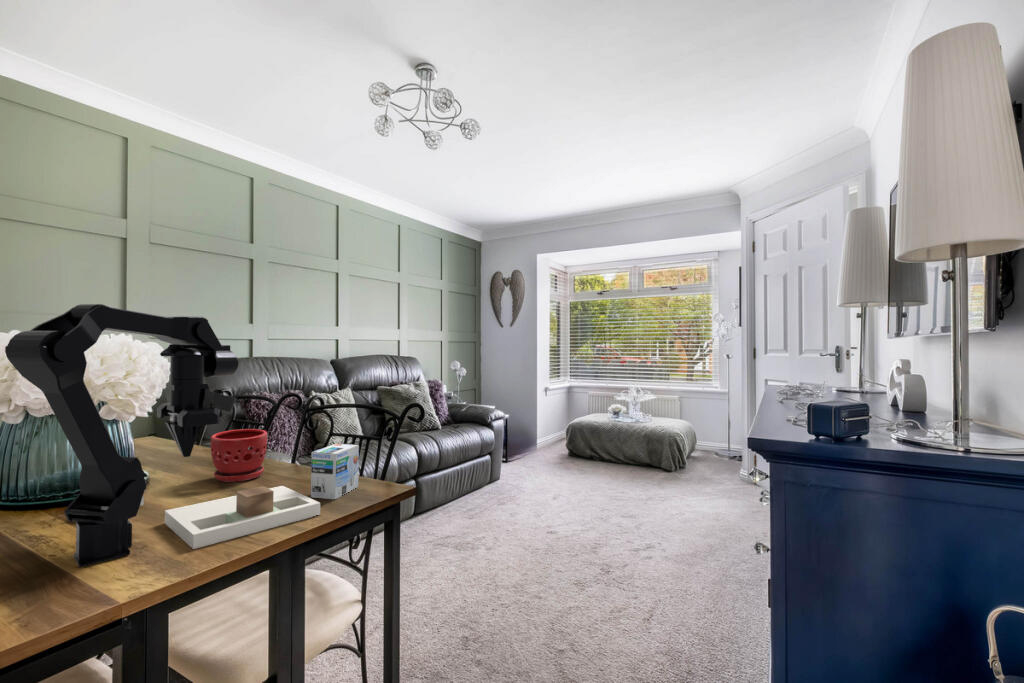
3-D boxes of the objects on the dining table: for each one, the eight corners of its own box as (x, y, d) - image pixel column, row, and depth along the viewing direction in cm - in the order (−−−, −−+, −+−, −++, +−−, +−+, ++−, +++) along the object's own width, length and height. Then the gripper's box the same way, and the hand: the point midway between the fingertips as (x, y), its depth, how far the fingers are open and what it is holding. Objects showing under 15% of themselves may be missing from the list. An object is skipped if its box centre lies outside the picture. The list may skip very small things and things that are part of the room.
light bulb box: (335, 500, 110) (336, 453, 110) (309, 498, 111) (310, 451, 112) (359, 487, 121) (360, 444, 121) (335, 485, 122) (335, 442, 122)
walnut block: (246, 517, 91) (246, 496, 92) (236, 511, 95) (236, 491, 95) (273, 511, 95) (273, 491, 95) (262, 505, 99) (263, 486, 99)
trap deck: (193, 549, 83) (193, 534, 83) (164, 523, 95) (164, 510, 95) (320, 514, 101) (320, 502, 101) (282, 496, 112) (282, 485, 112)
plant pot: (202, 478, 127) (203, 432, 127) (255, 469, 137) (256, 427, 137) (220, 488, 118) (220, 439, 118) (275, 477, 128) (275, 432, 128)
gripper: (248, 379, 96) (247, 457, 96) (216, 374, 108) (215, 443, 108) (183, 382, 88) (182, 467, 88) (156, 377, 100) (155, 451, 100)
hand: (186, 456), depth 96 cm, fingers closed
